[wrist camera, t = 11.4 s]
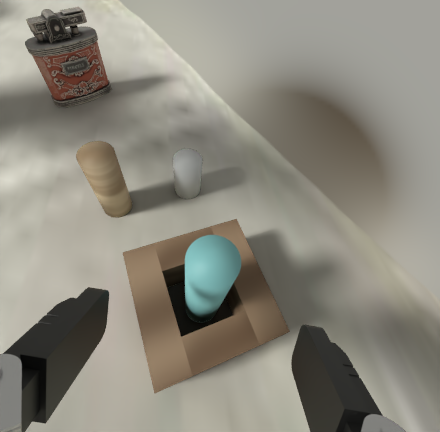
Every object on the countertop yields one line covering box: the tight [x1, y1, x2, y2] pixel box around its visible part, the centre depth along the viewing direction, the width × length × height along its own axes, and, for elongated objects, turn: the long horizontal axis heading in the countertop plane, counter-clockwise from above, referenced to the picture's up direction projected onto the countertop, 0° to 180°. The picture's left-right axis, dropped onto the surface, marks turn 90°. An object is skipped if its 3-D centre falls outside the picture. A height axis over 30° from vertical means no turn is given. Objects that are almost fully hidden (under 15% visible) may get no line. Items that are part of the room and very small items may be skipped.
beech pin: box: [76, 141, 132, 217], centre depth 25 cm, size 3×3×8 cm
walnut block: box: [123, 219, 290, 393], centre depth 22 cm, size 10×10×5 cm
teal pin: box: [185, 235, 241, 323], centre depth 19 cm, size 3×3×12 cm
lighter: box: [25, 7, 111, 108], centre depth 32 cm, size 8×3×10 cm, turn 130°
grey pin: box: [173, 149, 202, 199], centre depth 28 cm, size 3×3×5 cm
